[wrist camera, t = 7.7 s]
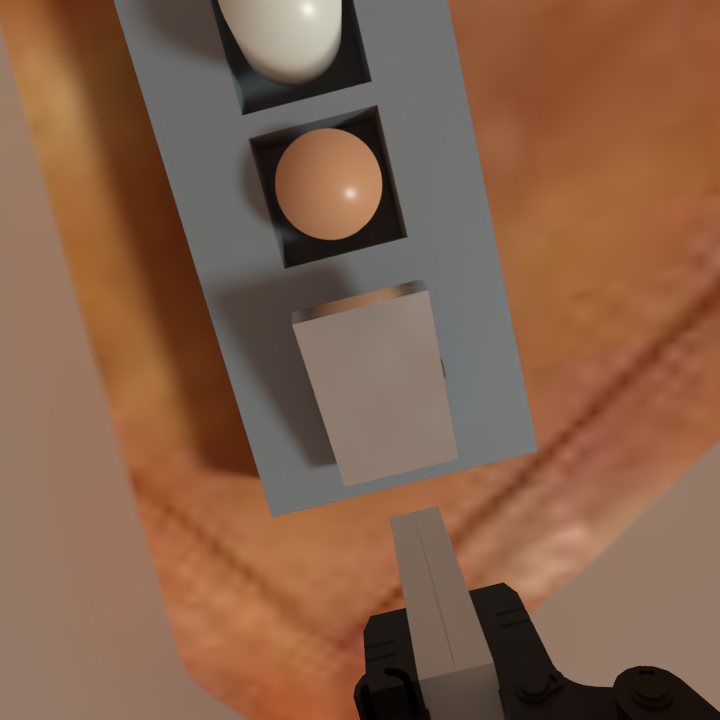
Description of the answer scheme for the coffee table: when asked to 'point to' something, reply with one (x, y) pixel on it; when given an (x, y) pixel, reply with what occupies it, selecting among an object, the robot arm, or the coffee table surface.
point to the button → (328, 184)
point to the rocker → (378, 381)
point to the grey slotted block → (332, 257)
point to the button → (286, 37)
